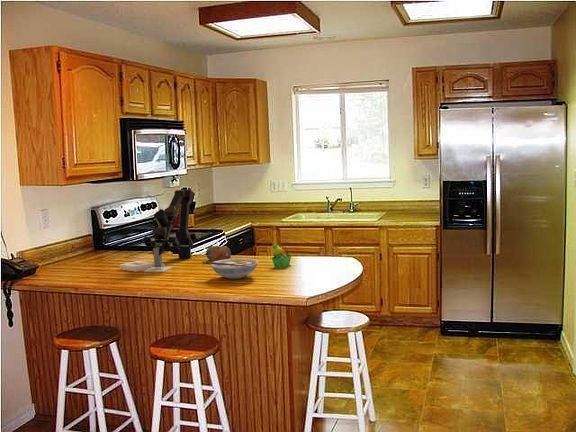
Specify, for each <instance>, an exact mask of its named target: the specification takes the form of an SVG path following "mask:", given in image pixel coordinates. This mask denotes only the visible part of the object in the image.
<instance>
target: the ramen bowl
mask: <svg viewBox="0 0 576 432" xmlns="http://www.w3.org/2000/svg"><path fill="white" fill-rule="evenodd" d="M202 264H204V265H210V266H211V268H212V270H213V271H214V272H215V273H216V275H219V276H221V277H223V278H227V279H228V280H240V279H243V278H245V277H246V276H248V275H251V274H252V273H253V272H254V271H255V269H256V268H257V266H258V264H259V260H257V259H255V258H253V259H252V258H245V257H244V258H240V257H239V258H230V259H225V260H219V261H203V262H202Z"/></svg>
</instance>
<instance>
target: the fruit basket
mask: <svg viewBox="0 0 576 432" xmlns="http://www.w3.org/2000/svg"><path fill="white" fill-rule="evenodd" d="M271 250H272V255H273V257H271V260H272V264H273V266H274V268H277V269H282V268H283V269H284V268H285V267H288V266H289V265H290V263H291V258H292V254H289V253H288V254H287V253H286V254H285V253H283V252H284V250H283V248H282V247H280V246H279V245H278V244H273V245H272V247H271Z"/></svg>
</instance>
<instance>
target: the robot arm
mask: <svg viewBox="0 0 576 432" xmlns="http://www.w3.org/2000/svg"><path fill="white" fill-rule="evenodd" d="M194 197H195V192H194V191H193V190H192V189H178V190H175V191H174V195H173V197H172V199H171V201H170V204H169V205H168V207H166V208H164V209H163V208H160V209H159V210H157V211H156V212H155V213H154V214H153V218H154V219H155V221H156V222H157V224H158V225H159V226H160V227H152V232H151V234H152V235H154V238H152V236H144V237H143V238H142V240H141V241H142V242H143V244H144V245H145V246H146V247H149V248H151V247H152V249H153V248H156V247H159V246H158V244H161V245H160V247H161V248H160V251H159V255H161V254H162V255H163V254H164V252H166V251H168V249H169V248H170V249H171V247H174V248H178V250H177V252H178V254H177V255H178V260H179V259H181V260H182V259H191V258H192V257H193V256H192V248H193V247H194V242H193V239H191V233H190V231H189V219H190V206H191V204H192V203H193V201H194ZM179 207H180V215H179V217H180V218H179V229H178V230H177V231H175V236H171V234H170V232H171V230H172V229H174V226H173V222H176V221H177V219H178V209H179ZM152 255H153V256H154V251H153V250H152Z"/></svg>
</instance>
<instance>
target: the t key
mask: <svg viewBox="0 0 576 432" xmlns="http://www.w3.org/2000/svg"><path fill="white" fill-rule="evenodd" d="M160 248H161V246H158V247H156V248H153V247H152V252H153V251H154V255H153V261H154V262H153V263H154V264H152V267H156V268H160V267H166V266H165V263H163V253H162V254H161V255H159V251H160Z"/></svg>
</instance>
